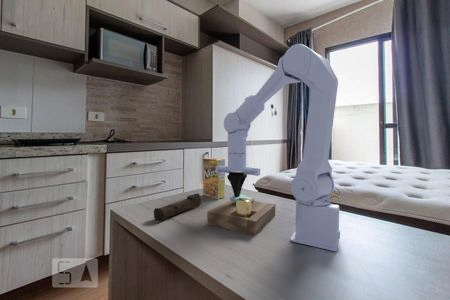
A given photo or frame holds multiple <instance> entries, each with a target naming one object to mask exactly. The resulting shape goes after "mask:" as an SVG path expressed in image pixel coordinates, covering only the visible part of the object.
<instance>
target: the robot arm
mask: <svg viewBox="0 0 450 300" xmlns="http://www.w3.org/2000/svg"><path fill="white" fill-rule="evenodd" d="M301 82H303V83H304V84H305V85H306V86H307V87H308V88H309V89H310V93H309V100H308V101H309V103H308V110H307V111H308V113H307V120H306V130H305V138H304V145H303V147H304V149H303V156H302V159H301V161H300V163H299V164H298V165H297V167H296V170H295V171H296V173H295V176H294V178H293V179H292V181H291V183H290V192H291V194H292V196H293V197H294V199H295V228H294V229H295V231H294V232H293V234H292V236H291V237H290V242H293V243H298V244H301V245H306V246H310V247H316V248H320V249H323V250H329V251H332V252H337V251H338V244H339V240H340V238H341V230H340V205H339V204H335V203H331V202H330V197H329V196H330V195H331V194H332V193H333V191H334V189H335V182H334V181H335V180H334V179H333V176H332V175H333V167H332V165H331V164H330V161H329V157H330V150H331V149H330V148H331V140H332V135H333V125H334V118H335V110H336V102H337V94H338V86H339V79H338V77H337V76H336V74H335V71H334V70H333V68H332V66H331V64H330V60H329V59H328V58H326V57H325V56H323V55H322V54H318V53H316V52H315V51H314V50H313V49H311V48H309V47H308V46H306V44H305V45H304V44H303V43H302V44H301V43H295V44H293V45H291V46H290V47H289V48H288V49H287V50H286V52H285V53H284V55H282V56H281V57H280V58H279V60H278V64H277V67H276V69H275V70H274V71H273V72H272V73H271V75H270V76H269V77H268V78H267V80H266V81H265V83H264V84H262V86H261V88H259V90H258V92H256V93H255V95H253V94H252V95H248V96H246V97H245V99H244V101H243V103H242V104H241V105H240V106H239V107H238V108H237V109H236V110H235V111H233V112H229V113H227V114H226V116H225V118H224V119H223V128H224V130H225V131H226V132H227V165H225V166H216V172H223V173H225V174H227V175H226V177H227V180H228V182H229V184H230V186H231V189H232V192H233V196H234V197H239V196H240V194H242V193H241V191H242V189H243V186H244V183H245V181H246V179H247V176H248V175H249V176H255V177H258V176H260V175H261V168H257V167H256V168H255V167H248V166H247V139H248V132H249V131H250V128H251V124H252V123H253V121H254V120H256V118H257V117H259V116H260V115H261V113H262V112H263V111H264V110H265V104H266V103H267V102H268V101H269V100H271V98H272V97H273V96H275V95H276V94H277V93H278V92H280V90H281V89H283V88H284V87H286V85H289V84H290V85H291V84H297V83H301Z"/></svg>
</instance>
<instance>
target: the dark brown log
mask: <svg viewBox="0 0 450 300" xmlns="http://www.w3.org/2000/svg"><path fill="white" fill-rule="evenodd" d="M201 204H202V197H201V194H200V193H194V194H190V195H187V196H186V198H185V199H183V200H180V201H177V202H175V203H171V204H168V205H165V206H161V207H155V208H154V210H153V218H154V220H155V221H158V222H161V223H162V222H163V221H164V220H165V221H166V220H167V219H168V218H171V217H172V216H174V215H178V214H180V213H183V212H185V211H188V210H195V209H197V208H199V207H200V206H201Z"/></svg>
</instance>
